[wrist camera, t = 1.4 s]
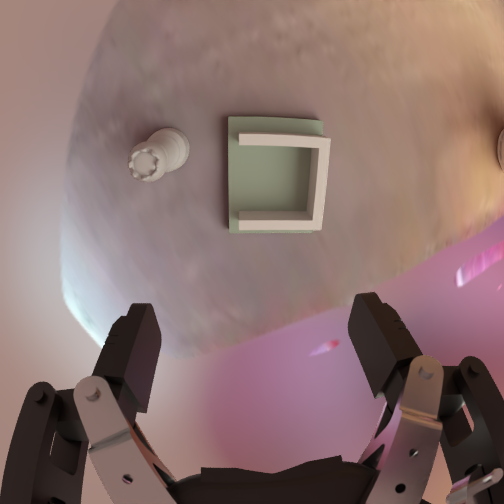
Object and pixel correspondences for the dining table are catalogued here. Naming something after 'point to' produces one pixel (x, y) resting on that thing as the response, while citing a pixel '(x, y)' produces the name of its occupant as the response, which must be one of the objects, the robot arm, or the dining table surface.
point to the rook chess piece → (158, 155)
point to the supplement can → (501, 149)
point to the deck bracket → (276, 174)
